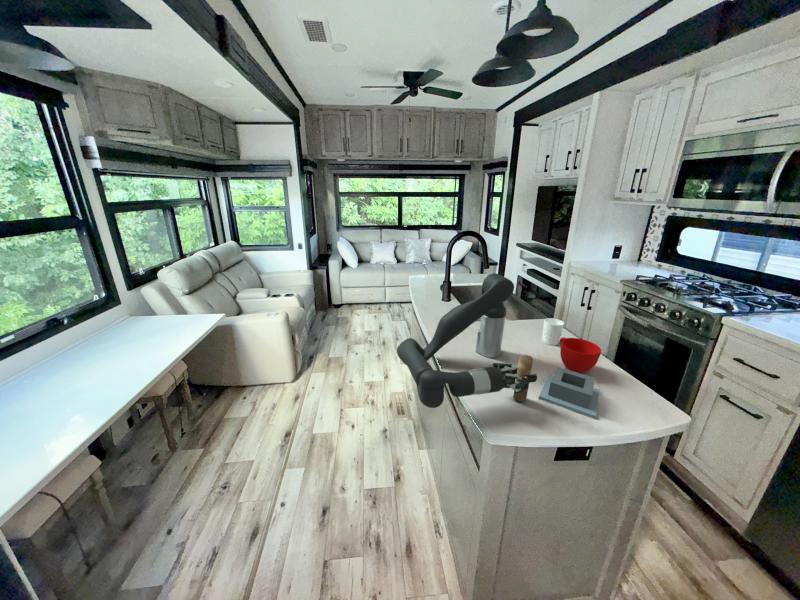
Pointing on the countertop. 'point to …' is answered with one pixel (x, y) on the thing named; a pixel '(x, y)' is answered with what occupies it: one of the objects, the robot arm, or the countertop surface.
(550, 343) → the white cup
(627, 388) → the countertop surface
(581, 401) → the socket block
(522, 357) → the wooden cylinder
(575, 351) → the ceramic cup
